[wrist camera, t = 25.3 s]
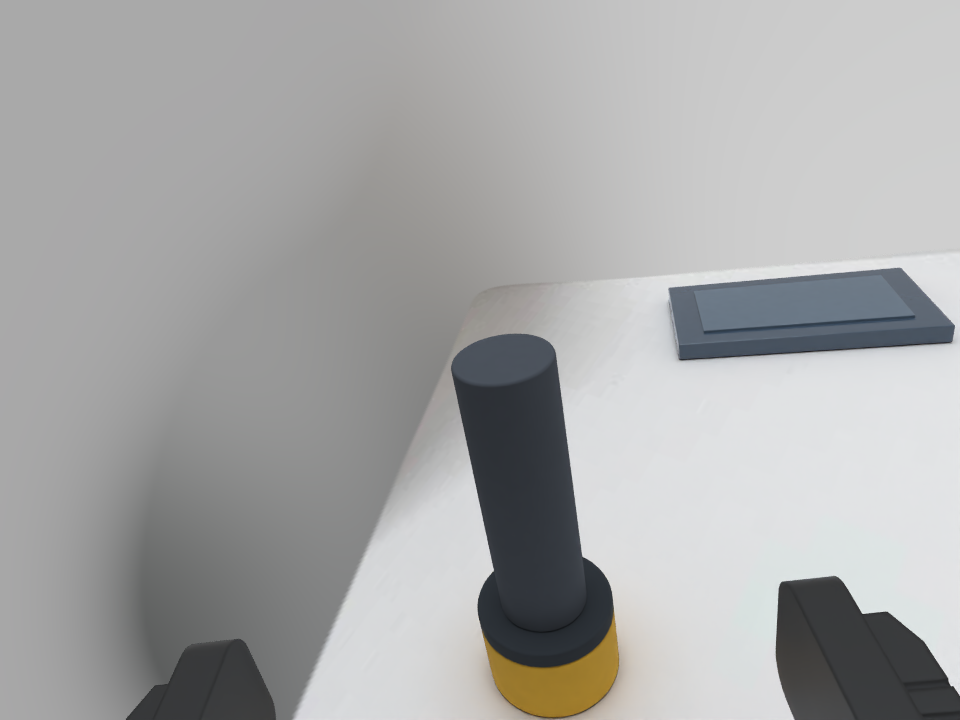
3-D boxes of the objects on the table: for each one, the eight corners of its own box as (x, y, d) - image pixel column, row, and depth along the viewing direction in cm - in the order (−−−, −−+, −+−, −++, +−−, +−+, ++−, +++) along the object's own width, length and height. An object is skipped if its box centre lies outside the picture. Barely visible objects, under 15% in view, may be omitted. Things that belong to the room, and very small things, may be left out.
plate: (679, 360, 40) (678, 342, 40) (668, 301, 47) (668, 285, 46) (952, 342, 37) (956, 322, 37) (899, 282, 44) (901, 265, 43)
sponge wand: (465, 676, 24) (387, 379, 19) (539, 591, 27) (489, 310, 21) (573, 743, 21) (519, 419, 16) (642, 641, 24) (617, 335, 19)
